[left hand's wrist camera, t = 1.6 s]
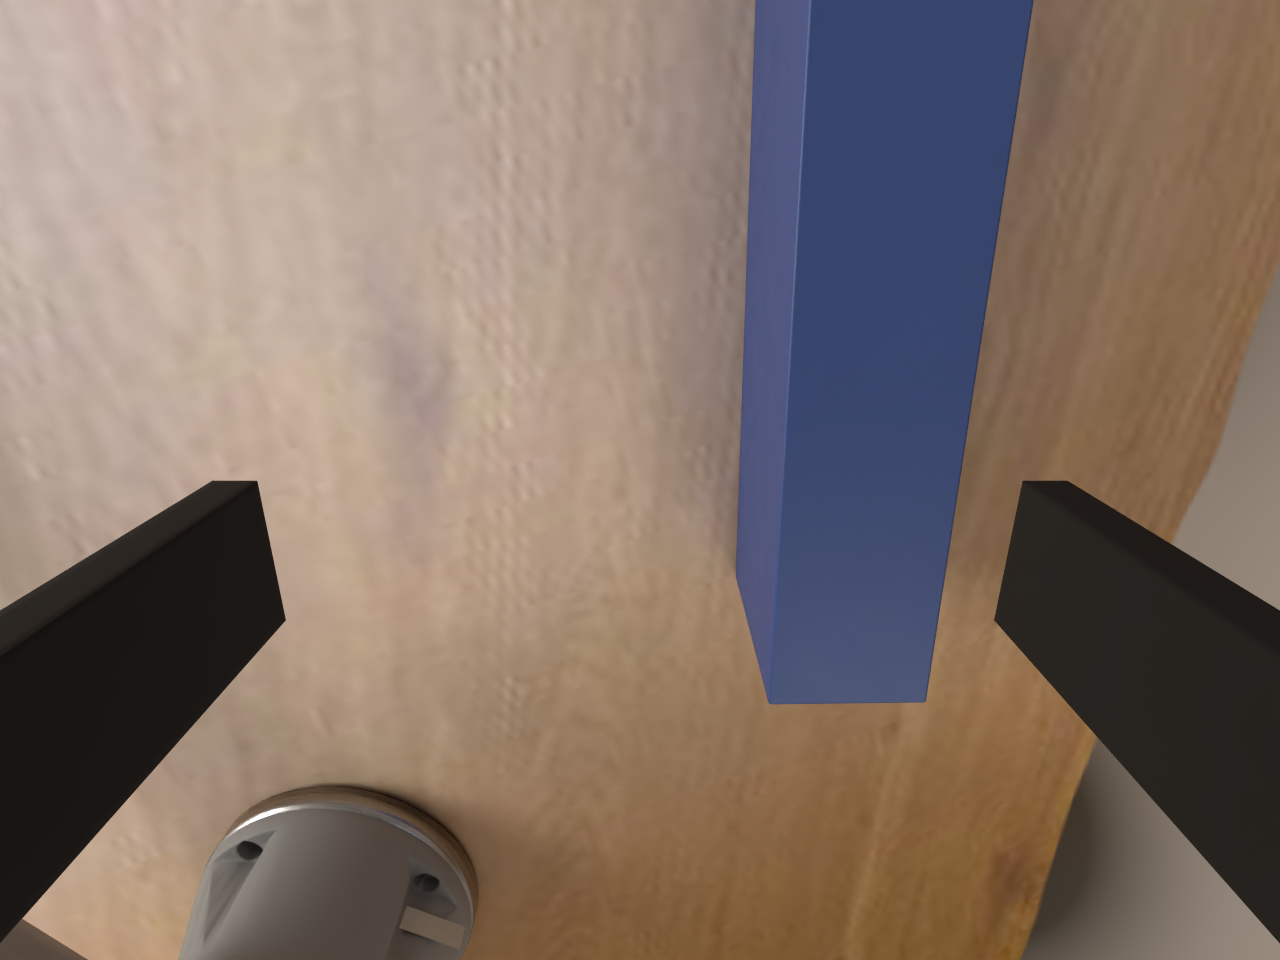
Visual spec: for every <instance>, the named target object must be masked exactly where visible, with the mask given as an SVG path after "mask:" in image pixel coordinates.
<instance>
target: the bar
mask: <svg viewBox="0 0 1280 960" xmlns="http://www.w3.org/2000/svg"><path fill="white" fill-rule="evenodd" d="M1032 7H1033V0H756V10H755V39H754V68H753V97H752V126H751V155H750V184H749V213H748V242H747V271H746V300H745V328H744V357H743V386H742V415H741V444H740V473H739V502H738V531H737V560H736V579H737V582H738V586H739V590H740V594H741V598H742V602H743V606H744V609H745V613H746V617H747V621H748V625H749V629H750V633H751V636H752V640H753V644H754V648H755V652H756V656H757V660H758V663H759V667H760V671H761V675H762V679H763V683H764V687H765V690H766V694H767V698H768V702H769V704H826V703H907V702H925V701H926V696H927V689H928V683H929V676H930V670H931V663H932V657H933V650H934V644H935V637H936V631H937V624H938V618H939V611H940V605H941V598H942V592H943V585H944V579H945V572H946V566H947V559H948V553H949V546H950V540H951V533H952V527H953V520H954V514H955V507H956V501H957V494H958V488H959V481H960V475H961V468H962V462H963V455H964V449H965V442H966V436H967V429H968V423H969V416H970V410H971V403H972V397H973V390H974V384H975V377H976V371H977V364H978V358H979V351H980V345H981V338H982V332H983V325H984V319H985V312H986V306H987V299H988V293H989V286H990V280H991V273H992V267H993V260H994V254H995V247H996V241H997V234H998V228H999V221H1000V215H1001V208H1002V202H1003V195H1004V189H1005V182H1006V176H1007V169H1008V163H1009V156H1010V150H1011V143H1012V137H1013V130H1014V124H1015V117H1016V111H1017V104H1018V98H1019V91H1020V85H1021V78H1022V72H1023V65H1024V59H1025V52H1026V46H1027V39H1028V33H1029V26H1030V20H1031V13H1032Z"/></svg>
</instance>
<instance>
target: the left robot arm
mask: <svg viewBox="0 0 1280 960" xmlns="http://www.w3.org/2000/svg"><path fill="white" fill-rule="evenodd" d="M285 621H286V619H285V614H284V609H283V604H282V599H281V595H280V590H279V585H278V580H277V575H276V570H275V565H274V560H273V556H272V551H271V546H270V541H269V536H268V531H267V526H266V521H265V517H264V512H263V507H262V502H261V497H260V492H259V487H258V483H257V481H211V482H210V483H208V484H207V485H205V486H203V487H202V488H200V489H198V490H197V491H195V492H193V493H192V494H190V495H189V496H187V497H185V498H184V499H182V500H180V501H179V502H177V503H175V504H174V505H172V506H171V507H169V508H167V509H166V510H164V511H162V512H161V513H159V514H157V515H156V516H154V517H153V518H151V519H149V520H148V521H146V522H144V523H143V524H141V525H139V526H138V527H136V528H135V529H133V530H131V531H130V532H128V533H126V534H125V535H123V536H121V537H120V538H118V539H117V540H115V541H113V542H112V543H110V544H108V545H107V546H105V547H103V548H102V549H100V550H99V551H97V552H95V553H94V554H92V555H90V556H89V557H87V558H85V559H84V560H82V561H81V562H79V563H77V564H76V565H74V566H72V567H71V568H69V569H67V570H66V571H64V572H63V573H61V574H59V575H58V576H56V577H54V578H53V579H51V580H50V581H48V582H46V583H45V584H43V585H41V586H40V587H38V588H36V589H35V590H33V591H32V592H30V593H28V594H27V595H25V596H23V597H22V598H20V599H18V600H17V601H15V602H14V603H12V604H10V605H9V606H7V607H5V608H4V609H2V610H0V960H87V959H86V958H84V957H82V956H81V955H79V954H78V953H76V952H74V951H73V950H71V949H70V948H68V947H66V946H65V945H63V944H62V943H60V942H58V941H57V940H55V939H54V938H52V937H50V936H49V935H47V934H46V933H44V932H42V931H41V930H39V929H38V928H36V927H34V926H33V925H31V924H30V923H28V922H26V921H25V920H23V919H22V918H23V917H24V916H25V915H26V913H27V912H28V911H29V910H30V909H31V908H32V907H33V906H34V904H35V903H36V902H37V901H38V900H39V899H40V898H41V897H42V895H43V894H44V893H45V892H46V891H47V890H48V889H49V887H50V886H51V885H52V884H53V883H54V882H55V881H56V880H57V878H58V877H59V876H60V875H61V874H62V873H63V872H64V871H65V869H66V868H67V867H68V866H69V865H70V864H71V863H72V861H73V860H74V859H75V858H76V857H77V856H78V855H79V854H80V852H81V851H82V850H83V849H84V848H85V847H86V846H87V844H88V843H89V842H90V841H91V840H92V839H93V838H94V837H95V835H96V834H97V833H98V832H99V831H100V830H101V829H102V828H103V826H104V825H105V824H106V823H107V822H108V821H109V820H110V818H111V817H112V816H113V815H114V814H115V813H116V812H117V811H118V809H119V808H120V807H121V806H122V805H123V804H124V803H125V802H126V800H127V799H128V798H129V797H130V796H131V795H132V794H133V792H134V791H135V790H136V789H137V788H138V787H139V786H140V785H141V783H142V782H143V781H144V780H145V779H146V778H147V777H148V775H149V774H150V773H151V772H152V771H153V770H154V769H155V768H156V766H157V765H158V764H159V763H160V762H161V761H162V760H163V759H164V757H165V756H166V755H167V754H168V753H169V752H170V751H171V749H172V748H173V747H174V746H175V745H176V744H177V743H178V742H179V740H180V739H181V738H182V737H183V736H184V735H185V734H186V732H187V731H188V730H189V729H190V728H191V727H192V726H193V725H194V723H195V722H196V721H197V720H198V719H199V718H200V717H201V716H202V714H203V713H204V712H205V711H206V710H207V709H208V708H209V706H210V705H211V704H212V703H213V702H214V701H215V700H216V699H217V697H218V696H219V695H220V694H221V693H222V692H223V691H224V690H225V688H226V687H227V686H228V685H229V684H230V683H231V682H232V680H233V679H234V678H235V677H236V676H237V675H238V674H239V673H240V671H241V670H242V669H243V668H244V667H245V666H246V665H247V663H248V662H249V661H250V660H251V659H252V658H253V657H254V656H255V654H256V653H257V652H258V651H259V650H260V649H261V648H262V647H263V645H264V644H265V643H266V642H267V641H268V640H269V639H270V637H271V636H272V635H273V634H274V633H275V632H276V631H277V630H278V628H279V627H280V626H281V625H282V624H283V623H284V622H285ZM994 621H995V622H996V623H997V624H998V625H999V626H1000V627H1001V628H1002V630H1003V631H1004V632H1005V633H1006V634H1007V635H1008V636H1009V637H1010V639H1011V640H1012V641H1013V642H1014V643H1015V644H1016V645H1017V647H1018V648H1019V649H1020V650H1021V651H1022V652H1023V653H1024V654H1025V656H1026V657H1027V658H1028V659H1029V660H1030V661H1031V662H1032V663H1033V665H1034V666H1035V667H1036V668H1037V669H1038V670H1039V671H1040V673H1041V674H1042V675H1043V676H1044V677H1045V678H1046V679H1047V680H1048V682H1049V683H1050V684H1051V685H1052V686H1053V687H1054V688H1055V690H1056V691H1057V692H1058V693H1059V694H1060V695H1061V696H1062V697H1063V699H1064V700H1065V701H1066V702H1067V703H1068V704H1069V705H1070V706H1071V708H1072V709H1073V710H1074V711H1075V712H1076V713H1077V714H1078V716H1079V717H1080V718H1081V719H1082V720H1083V721H1084V722H1085V723H1086V725H1087V726H1088V727H1089V728H1090V729H1091V730H1092V731H1093V732H1094V734H1095V735H1096V736H1097V737H1098V738H1099V739H1100V740H1101V741H1102V743H1103V744H1104V745H1105V746H1106V747H1107V748H1108V749H1109V751H1110V752H1111V753H1112V754H1113V755H1114V756H1115V757H1116V758H1117V760H1118V761H1119V762H1120V763H1121V764H1122V765H1123V766H1124V768H1125V769H1126V770H1127V771H1128V772H1129V773H1130V774H1131V775H1132V777H1133V778H1134V779H1135V780H1136V781H1137V782H1138V783H1139V785H1140V786H1141V787H1142V788H1143V789H1144V790H1145V791H1146V792H1147V794H1148V795H1149V796H1150V797H1151V798H1152V799H1153V800H1154V801H1155V803H1156V804H1157V805H1158V806H1159V807H1160V808H1161V809H1162V811H1163V812H1164V813H1165V814H1166V815H1167V816H1168V817H1169V818H1170V820H1171V821H1172V822H1173V823H1174V824H1175V825H1176V826H1177V828H1178V829H1179V830H1180V831H1181V832H1182V833H1183V834H1184V835H1185V837H1186V838H1187V839H1188V840H1189V841H1190V842H1191V843H1192V844H1193V846H1194V847H1195V848H1196V849H1197V850H1198V851H1199V852H1200V854H1201V855H1202V856H1203V857H1204V858H1205V859H1206V860H1207V861H1208V863H1209V864H1210V865H1211V866H1212V867H1213V868H1214V869H1215V871H1216V872H1217V873H1218V874H1219V875H1220V876H1221V877H1222V878H1223V880H1224V881H1225V882H1226V883H1227V884H1228V885H1229V886H1230V887H1231V889H1232V890H1233V891H1234V892H1235V893H1236V894H1237V895H1238V896H1239V898H1240V899H1241V900H1242V901H1243V902H1244V903H1245V904H1246V906H1247V907H1248V908H1249V909H1250V910H1251V911H1252V912H1253V913H1254V915H1255V916H1256V917H1257V918H1258V919H1259V920H1260V921H1261V923H1262V924H1263V925H1264V926H1265V927H1266V928H1267V929H1268V930H1269V932H1270V933H1271V934H1272V935H1273V936H1274V937H1275V938H1276V939H1277V941H1278V942H1279V943H1280V610H1278V609H1276V608H1275V607H1273V606H1271V605H1270V604H1268V603H1266V602H1265V601H1263V600H1262V599H1260V598H1258V597H1257V596H1255V595H1253V594H1252V593H1250V592H1248V591H1247V590H1245V589H1244V588H1242V587H1240V586H1239V585H1237V584H1235V583H1234V582H1232V581H1230V580H1229V579H1227V578H1226V577H1224V576H1222V575H1221V574H1219V573H1217V572H1216V571H1214V570H1212V569H1211V568H1209V567H1208V566H1206V565H1204V564H1203V563H1201V562H1199V561H1198V560H1196V559H1195V558H1193V557H1191V556H1190V555H1188V554H1186V553H1185V552H1183V551H1181V550H1180V549H1178V548H1176V547H1175V546H1173V545H1172V544H1170V543H1168V542H1167V541H1165V540H1163V539H1162V538H1160V537H1159V536H1157V535H1155V534H1154V533H1152V532H1150V531H1149V530H1147V529H1145V528H1144V527H1142V526H1141V525H1139V524H1137V523H1136V522H1134V521H1132V520H1131V519H1129V518H1127V517H1126V516H1124V515H1123V514H1121V513H1119V512H1118V511H1116V510H1114V509H1113V508H1111V507H1109V506H1108V505H1106V504H1105V503H1103V502H1101V501H1100V500H1098V499H1096V498H1095V497H1093V496H1091V495H1090V494H1088V493H1087V492H1085V491H1083V490H1082V489H1080V488H1078V487H1077V486H1075V485H1073V484H1072V483H1070V482H1069V481H1023V483H1022V487H1021V492H1020V497H1019V502H1018V507H1017V512H1016V517H1015V521H1014V526H1013V531H1012V536H1011V541H1010V546H1009V551H1008V556H1007V560H1006V565H1005V570H1004V575H1003V580H1002V585H1001V590H1000V595H999V599H998V604H997V609H996V614H995V619H994ZM477 905H478V886H477V880H476V876H475V873H474V870H473V868H472V865H471V863H470V861H469V859H468V857H467V855H466V854H465V852H464V851H463V849H462V848H461V846H460V845H459V844H458V843H457V842H456V840H455V839H454V838H453V837H452V836H451V835H450V834H449V833H448V832H447V831H446V830H445V829H444V828H443V827H441V826H440V825H439V824H438V823H437V822H435V821H434V820H433V819H431V818H430V817H428V816H427V815H425V814H424V813H422V812H420V811H419V810H417V809H415V808H413V807H411V806H409V805H407V804H405V803H403V802H401V801H398V800H395V799H393V798H390V797H387V796H384V795H381V794H378V793H374V792H370V791H365V790H360V789H353V788H345V787H311V788H303V789H297V790H292V791H288V792H284V793H281V794H278V795H275V796H272V797H270V798H268V799H266V800H264V801H261V802H260V803H258V804H256V805H255V806H253V807H251V808H250V809H249V810H247V811H246V812H245V813H243V814H242V815H241V816H240V817H239V818H238V819H237V820H236V821H235V822H234V823H233V825H232V826H231V827H230V828H229V830H228V831H227V833H226V834H225V836H224V837H223V839H222V840H221V841H220V843H219V844H218V846H217V847H216V849H215V850H214V852H213V854H212V855H211V857H210V859H209V861H208V863H207V865H206V868H205V871H204V873H203V875H202V877H201V880H200V884H199V887H198V891H197V894H196V898H195V901H194V905H193V908H192V912H191V915H190V919H189V923H188V926H187V930H186V933H185V937H184V940H183V944H182V948H181V951H180V955H179V958H178V960H460V959H461V957H462V955H463V953H464V951H465V949H466V946H467V944H468V942H469V939H470V935H471V932H472V928H473V923H474V919H475V915H476V911H477Z"/></svg>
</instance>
